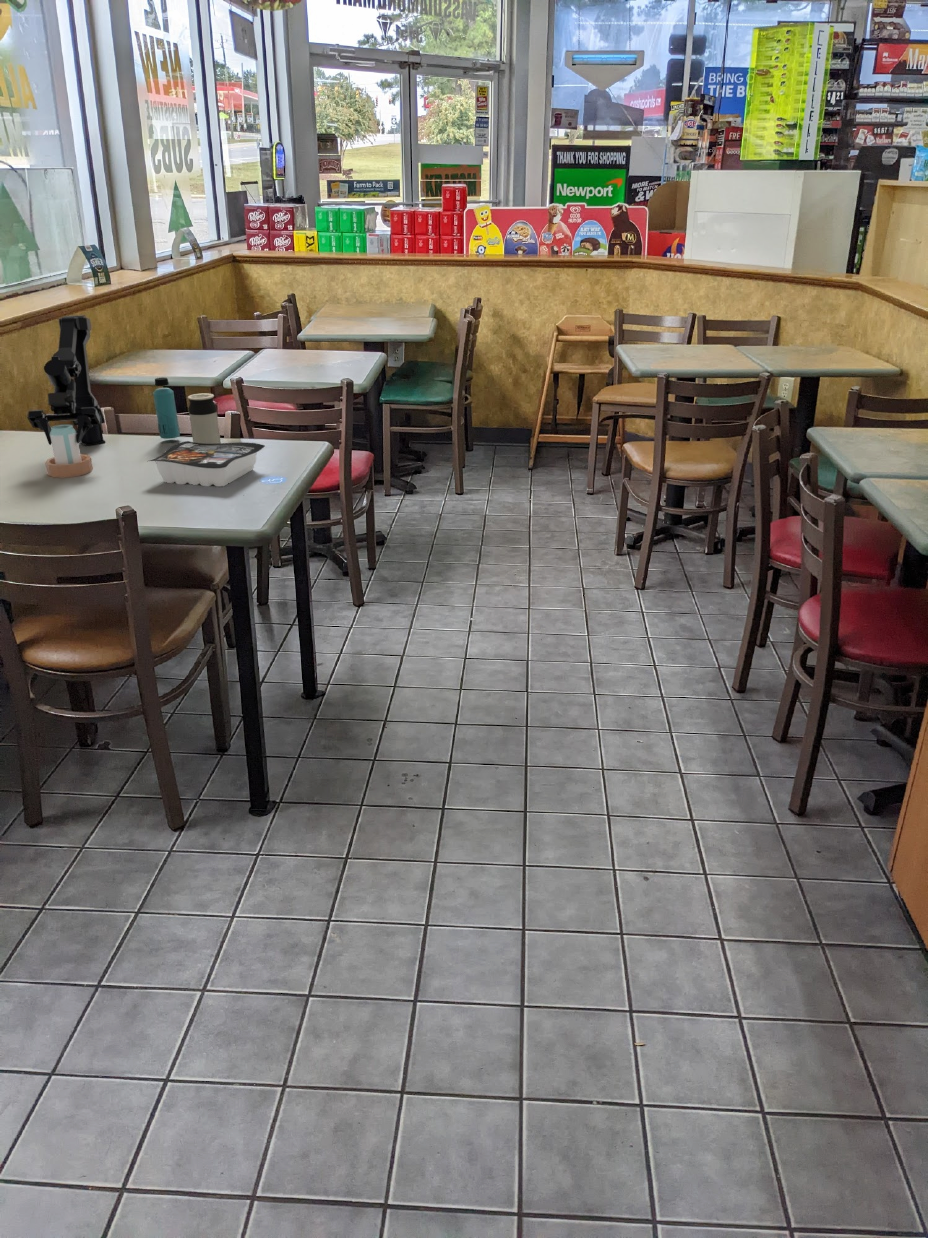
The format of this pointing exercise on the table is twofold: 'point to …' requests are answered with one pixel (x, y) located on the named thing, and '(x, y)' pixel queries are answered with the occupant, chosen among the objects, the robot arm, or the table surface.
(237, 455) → the food packaging
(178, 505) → the table surface
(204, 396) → the travel mug
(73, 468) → the bowl
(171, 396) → the beverage bottle
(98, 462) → the table surface
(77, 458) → the can
